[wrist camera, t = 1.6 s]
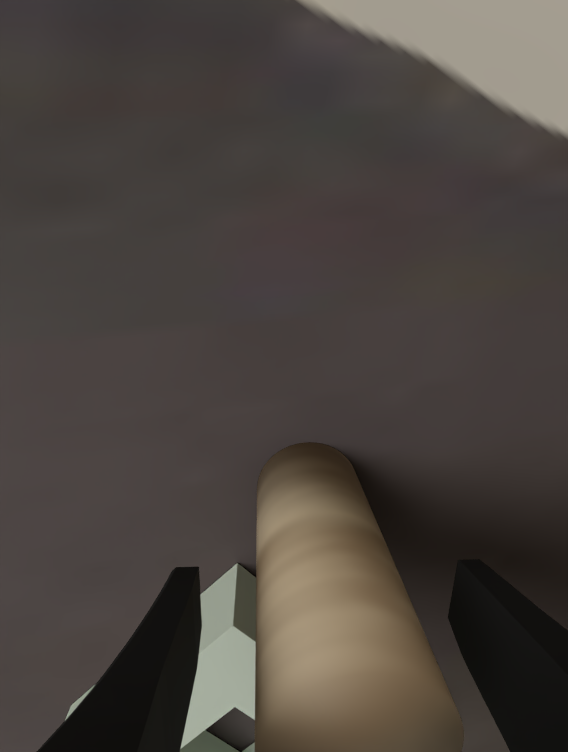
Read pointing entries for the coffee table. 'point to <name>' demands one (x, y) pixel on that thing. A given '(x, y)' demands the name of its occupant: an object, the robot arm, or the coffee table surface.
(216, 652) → the socket
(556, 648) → the robot arm
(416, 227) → the coffee table surface
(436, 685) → the peg
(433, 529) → the coffee table surface
